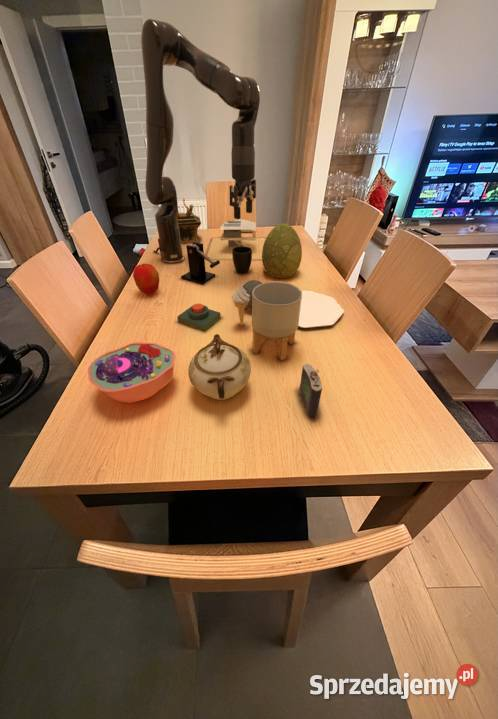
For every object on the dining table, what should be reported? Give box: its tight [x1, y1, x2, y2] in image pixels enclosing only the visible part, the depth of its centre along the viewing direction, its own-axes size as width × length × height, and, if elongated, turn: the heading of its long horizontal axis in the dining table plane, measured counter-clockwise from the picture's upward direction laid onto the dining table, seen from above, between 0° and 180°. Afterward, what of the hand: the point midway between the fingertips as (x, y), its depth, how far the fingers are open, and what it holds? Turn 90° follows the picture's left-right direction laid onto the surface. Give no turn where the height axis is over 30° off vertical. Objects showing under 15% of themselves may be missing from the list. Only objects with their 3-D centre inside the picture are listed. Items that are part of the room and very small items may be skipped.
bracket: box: [180, 242, 216, 286], centre depth 121 cm, size 11×9×14 cm
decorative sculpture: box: [261, 223, 303, 279], centre depth 122 cm, size 16×16×20 cm
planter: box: [251, 281, 302, 361], centre depth 83 cm, size 13×13×18 cm
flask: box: [298, 363, 323, 419], centre depth 68 cm, size 9×3×11 cm, turn 8°
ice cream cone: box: [231, 283, 250, 327], centre depth 93 cm, size 6×6×15 cm
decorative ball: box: [242, 279, 263, 310], centre depth 103 cm, size 10×10×10 cm
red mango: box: [132, 262, 160, 296], centre depth 111 cm, size 9×9×12 cm
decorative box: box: [158, 198, 202, 245], centre depth 153 cm, size 20×10×20 cm, turn 103°
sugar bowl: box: [187, 333, 252, 401], centre depth 71 cm, size 20×15×15 cm
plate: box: [298, 290, 345, 329], centre depth 104 cm, size 24×24×2 cm
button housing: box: [177, 304, 222, 332], centre depth 99 cm, size 11×9×4 cm
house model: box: [206, 218, 267, 260], centre depth 147 cm, size 29×30×12 cm
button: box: [191, 303, 205, 313], centre depth 97 cm, size 4×4×2 cm
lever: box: [191, 243, 221, 269], centre depth 117 cm, size 12×5×2 cm, turn 60°
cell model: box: [87, 341, 176, 404], centre depth 72 cm, size 17×20×11 cm
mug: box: [232, 245, 253, 275], centre depth 128 cm, size 8×12×10 cm
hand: (243, 215), depth 107 cm, fingers open, 8 cm apart
